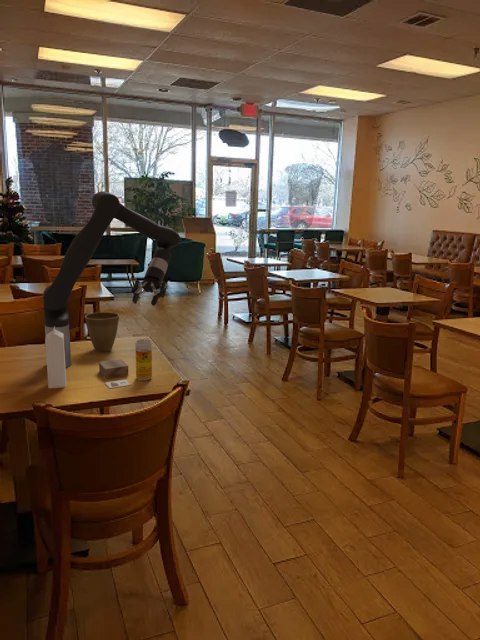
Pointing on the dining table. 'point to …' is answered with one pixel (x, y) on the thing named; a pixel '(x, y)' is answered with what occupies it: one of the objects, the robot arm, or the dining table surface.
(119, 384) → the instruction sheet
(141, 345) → the yellow canister
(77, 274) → the robot arm
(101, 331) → the plant pot
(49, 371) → the milk
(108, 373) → the base brick
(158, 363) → the dining table surface
